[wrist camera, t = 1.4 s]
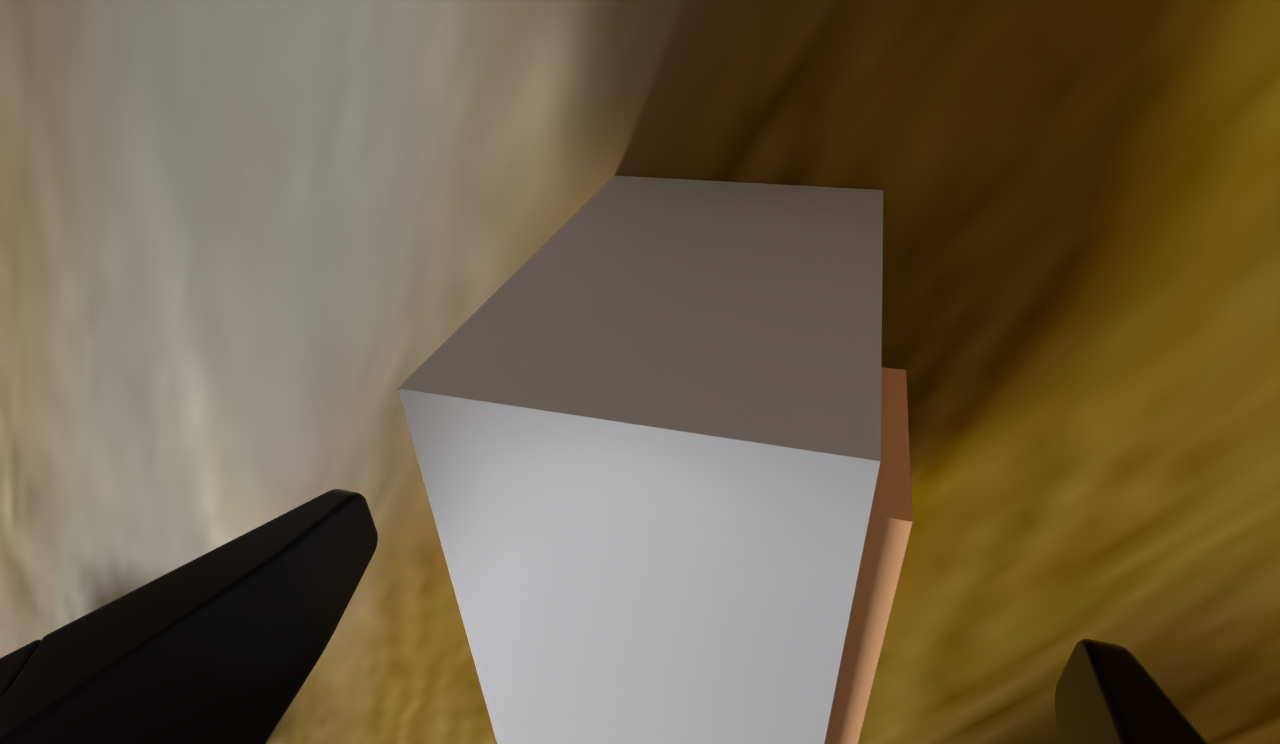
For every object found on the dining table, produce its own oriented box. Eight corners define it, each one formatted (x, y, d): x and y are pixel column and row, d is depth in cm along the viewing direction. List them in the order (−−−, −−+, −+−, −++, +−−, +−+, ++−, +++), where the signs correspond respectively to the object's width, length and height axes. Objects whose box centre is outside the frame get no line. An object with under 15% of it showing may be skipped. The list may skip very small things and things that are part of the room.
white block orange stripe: (849, 542, 13) (829, 891, 9) (633, 503, 15) (511, 792, 10) (912, 191, 10) (939, 469, 5) (614, 175, 11) (398, 388, 6)
